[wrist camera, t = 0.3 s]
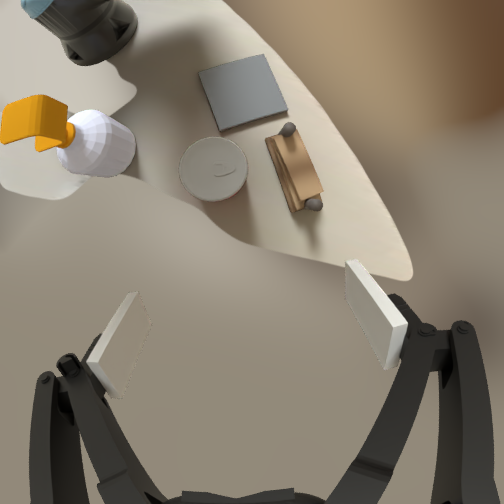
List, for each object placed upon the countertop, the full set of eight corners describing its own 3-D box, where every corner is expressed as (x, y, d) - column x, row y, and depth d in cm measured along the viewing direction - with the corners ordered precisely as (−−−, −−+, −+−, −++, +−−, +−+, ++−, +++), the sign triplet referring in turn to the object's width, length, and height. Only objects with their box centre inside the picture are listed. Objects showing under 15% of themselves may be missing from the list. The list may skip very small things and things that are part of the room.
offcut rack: (264, 138, 40) (269, 127, 33) (294, 129, 40) (305, 118, 33) (291, 213, 42) (301, 216, 35) (320, 203, 42) (335, 205, 35)
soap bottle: (89, 131, 37) (-10, 95, 13) (136, 119, 38) (51, 59, 14) (90, 181, 39) (-18, 178, 15) (138, 172, 40) (40, 153, 16)
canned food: (251, 190, 41) (257, 188, 31) (202, 208, 41) (190, 211, 31) (235, 144, 40) (235, 126, 29) (186, 161, 40) (169, 150, 29)
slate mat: (198, 74, 37) (198, 72, 36) (263, 56, 37) (263, 53, 36) (220, 131, 39) (219, 130, 38) (287, 111, 39) (288, 109, 38)
